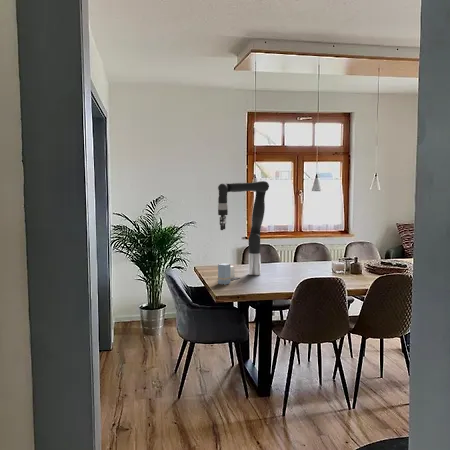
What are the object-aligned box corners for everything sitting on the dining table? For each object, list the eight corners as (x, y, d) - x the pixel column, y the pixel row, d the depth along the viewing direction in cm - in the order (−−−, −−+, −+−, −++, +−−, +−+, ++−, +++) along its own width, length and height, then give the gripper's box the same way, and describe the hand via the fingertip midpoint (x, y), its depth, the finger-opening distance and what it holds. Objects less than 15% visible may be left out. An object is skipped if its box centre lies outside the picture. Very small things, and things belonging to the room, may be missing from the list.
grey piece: (223, 282, 341) (223, 263, 340) (230, 283, 337) (230, 264, 336) (217, 283, 336) (217, 264, 335) (224, 284, 332) (224, 265, 331)
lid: (228, 276, 359) (227, 265, 358) (234, 277, 355) (234, 266, 354) (222, 278, 354) (222, 266, 353) (229, 279, 350) (229, 267, 349)
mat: (227, 276, 363) (227, 275, 363) (239, 278, 355) (239, 277, 355) (217, 278, 353) (217, 278, 353) (229, 280, 346) (229, 280, 346)
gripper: (225, 209, 357) (225, 230, 359) (229, 208, 371) (229, 229, 373) (216, 209, 359) (216, 230, 360) (219, 208, 373) (220, 228, 374)
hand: (222, 229), depth 366 cm, fingers open, 8 cm apart
